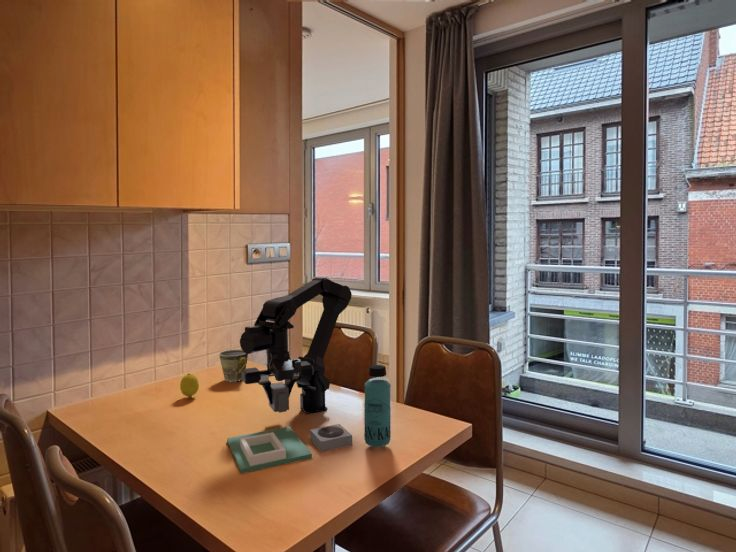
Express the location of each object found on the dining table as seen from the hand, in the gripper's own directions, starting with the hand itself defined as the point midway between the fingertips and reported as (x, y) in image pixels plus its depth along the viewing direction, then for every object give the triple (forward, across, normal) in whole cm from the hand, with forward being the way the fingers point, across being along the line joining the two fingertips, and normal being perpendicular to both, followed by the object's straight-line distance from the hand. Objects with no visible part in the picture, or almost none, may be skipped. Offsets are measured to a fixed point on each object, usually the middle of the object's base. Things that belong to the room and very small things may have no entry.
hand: (278, 402), depth 129 cm
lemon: (+6, -20, +34) cm, 40 cm away
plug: (+1, 0, 0) cm, 1 cm away
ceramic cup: (+6, -3, +46) cm, 47 cm away
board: (+6, -7, -15) cm, 17 cm away
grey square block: (+6, +8, -18) cm, 20 cm away
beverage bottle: (+6, +17, -26) cm, 32 cm away
